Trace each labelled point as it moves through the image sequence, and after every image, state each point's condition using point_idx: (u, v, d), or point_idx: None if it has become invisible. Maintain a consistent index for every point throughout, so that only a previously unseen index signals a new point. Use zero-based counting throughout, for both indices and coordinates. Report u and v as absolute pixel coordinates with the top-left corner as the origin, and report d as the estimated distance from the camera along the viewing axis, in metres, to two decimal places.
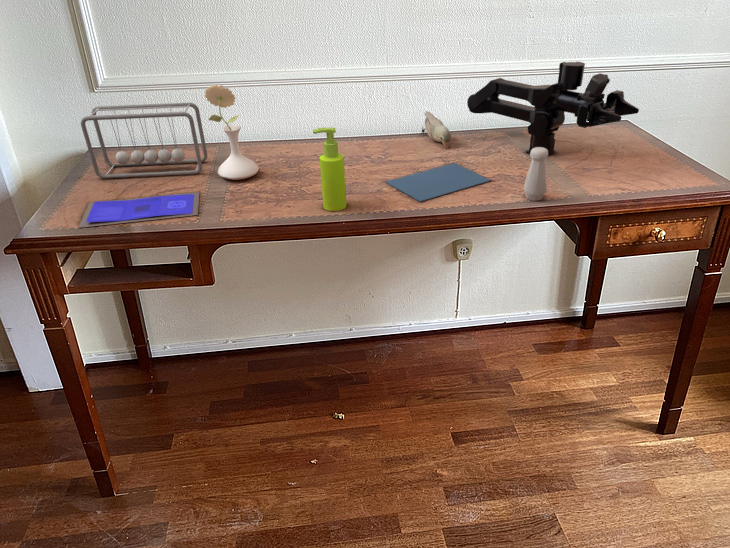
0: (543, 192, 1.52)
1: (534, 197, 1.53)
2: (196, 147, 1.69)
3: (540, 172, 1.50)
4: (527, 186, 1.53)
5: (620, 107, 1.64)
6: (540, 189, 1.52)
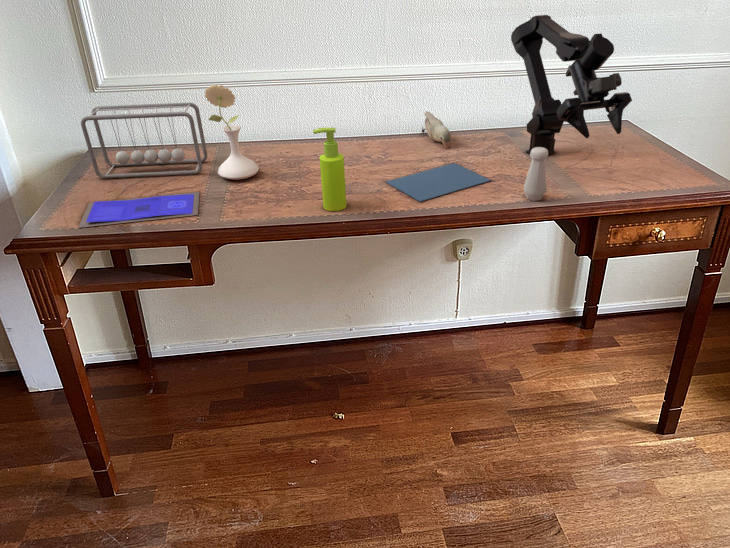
0: (543, 192, 1.52)
1: (534, 197, 1.53)
2: (196, 147, 1.69)
3: (540, 172, 1.50)
4: (527, 186, 1.53)
5: (614, 114, 1.55)
6: (540, 189, 1.52)
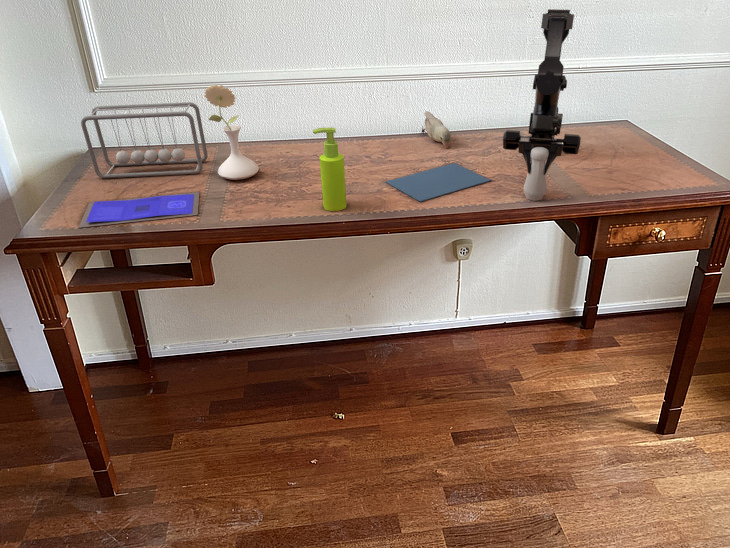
0: (543, 192, 1.52)
1: (534, 197, 1.53)
2: (196, 147, 1.69)
3: (540, 172, 1.50)
4: (527, 186, 1.53)
5: None
6: (540, 189, 1.52)
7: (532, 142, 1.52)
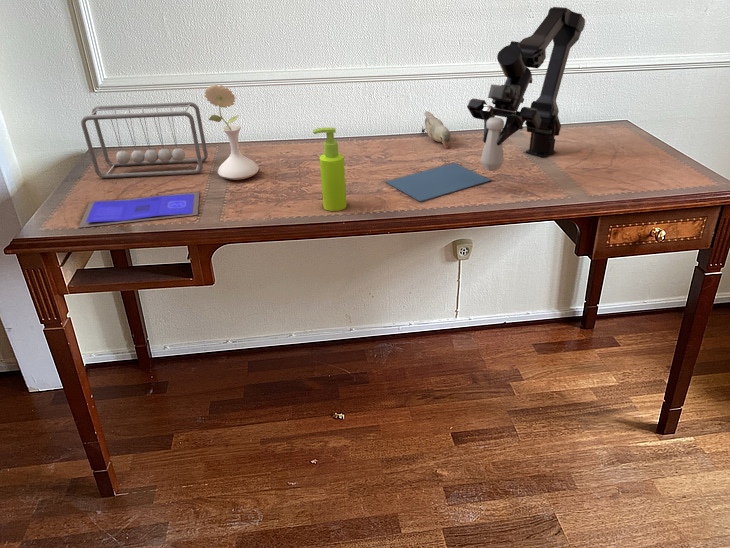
0: (496, 163, 1.54)
1: (487, 166, 1.56)
2: (196, 147, 1.69)
3: (493, 142, 1.52)
4: (482, 155, 1.56)
5: None
6: (493, 159, 1.54)
7: (495, 112, 1.54)
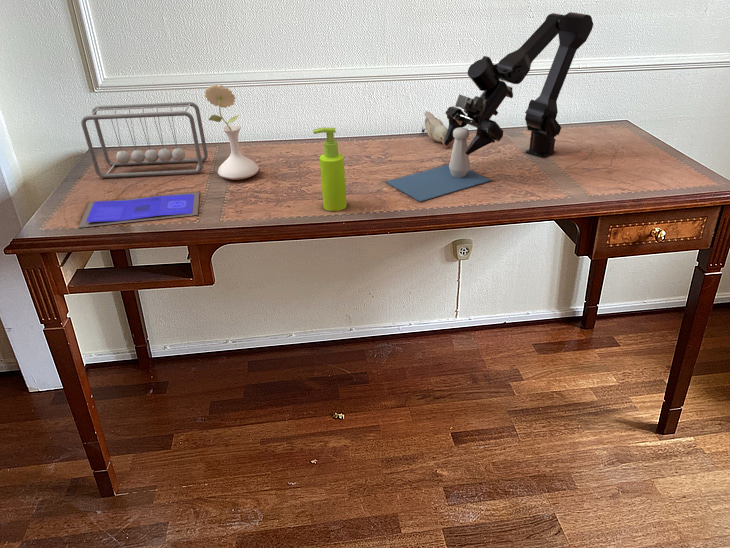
0: (459, 170, 1.65)
1: (452, 172, 1.67)
2: (196, 146, 1.69)
3: (457, 150, 1.63)
4: (450, 161, 1.67)
5: None
6: (456, 166, 1.65)
7: (460, 119, 1.66)
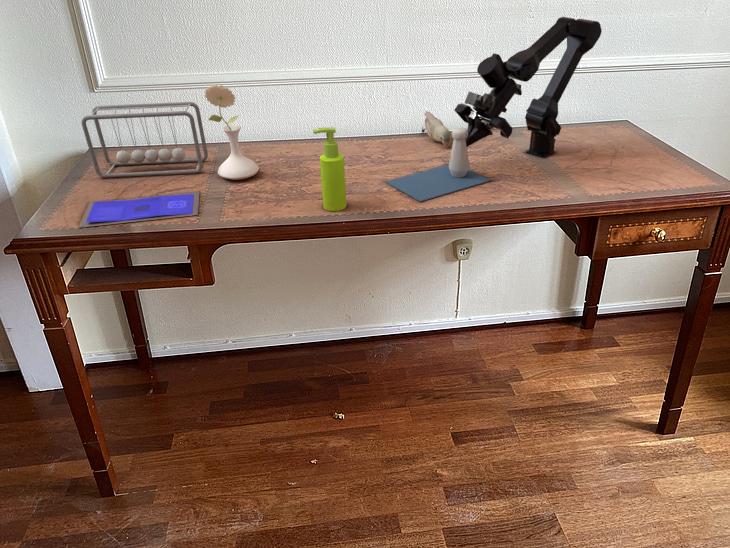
0: (459, 170, 1.65)
1: (452, 172, 1.67)
2: (197, 146, 1.69)
3: (456, 150, 1.63)
4: None
5: None
6: (455, 166, 1.65)
7: (480, 120, 1.64)
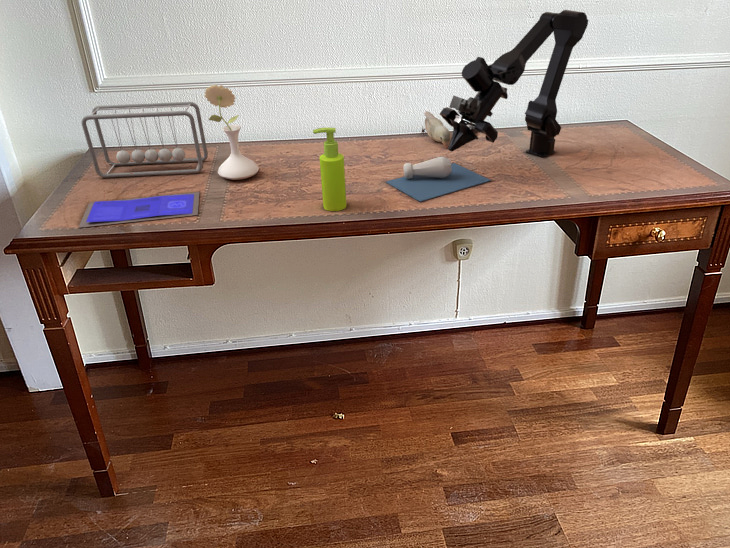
0: (443, 175, 1.65)
1: None
2: (197, 146, 1.69)
3: (423, 176, 1.66)
4: None
5: None
6: (439, 177, 1.66)
7: (465, 124, 1.62)
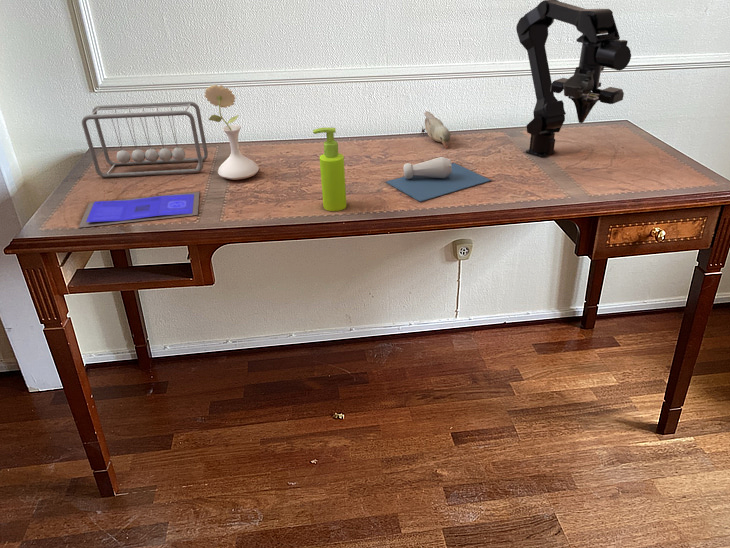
0: (443, 176, 1.65)
1: None
2: (197, 146, 1.70)
3: (423, 176, 1.66)
4: None
5: None
6: (439, 177, 1.66)
7: None
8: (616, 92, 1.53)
